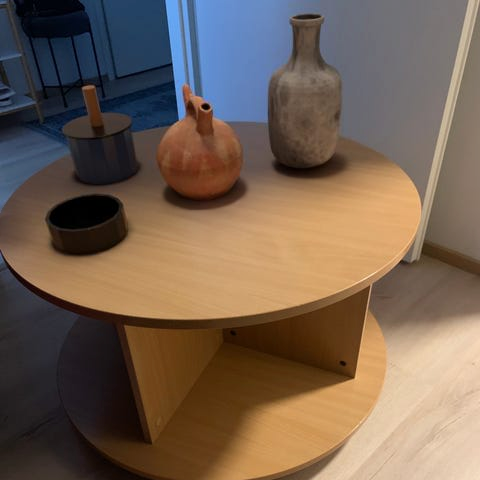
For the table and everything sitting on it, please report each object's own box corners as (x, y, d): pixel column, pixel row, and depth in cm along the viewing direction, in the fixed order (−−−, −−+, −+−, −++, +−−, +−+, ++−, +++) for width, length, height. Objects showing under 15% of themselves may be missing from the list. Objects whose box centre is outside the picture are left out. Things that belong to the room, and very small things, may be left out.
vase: (273, 181, 112) (272, 28, 92) (264, 153, 124) (261, 12, 105) (344, 174, 112) (358, 21, 93) (328, 147, 125) (337, 6, 105)
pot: (86, 189, 114) (74, 144, 107) (70, 167, 124) (58, 124, 117) (146, 173, 119) (138, 129, 112) (126, 153, 128) (117, 111, 122)
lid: (73, 148, 107) (61, 104, 101) (56, 127, 117) (44, 85, 112) (142, 131, 112) (134, 88, 106) (120, 112, 123) (111, 72, 117)
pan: (63, 263, 91) (55, 239, 88) (46, 229, 101) (38, 206, 98) (138, 239, 96) (133, 216, 93) (114, 209, 106) (109, 187, 103)
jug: (155, 179, 116) (139, 87, 103) (230, 165, 120) (224, 74, 107) (172, 215, 103) (155, 115, 90) (255, 198, 106) (251, 99, 93)
